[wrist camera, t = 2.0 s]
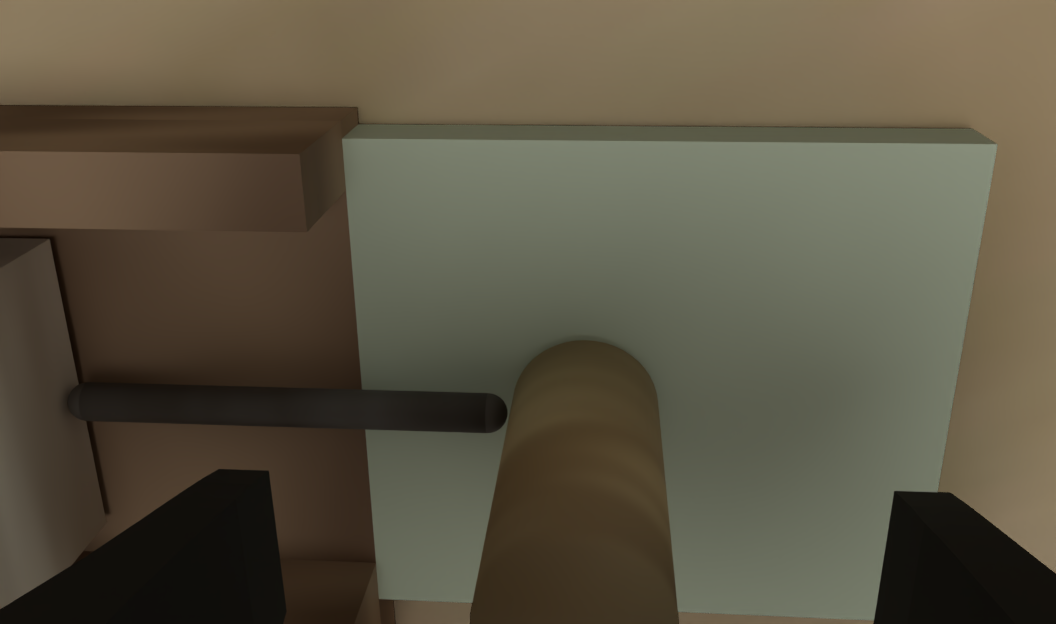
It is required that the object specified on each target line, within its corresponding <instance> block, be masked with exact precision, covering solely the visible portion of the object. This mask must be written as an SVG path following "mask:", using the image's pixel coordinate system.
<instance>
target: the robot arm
mask: <svg viewBox="0 0 1056 624" xmlns="http://www.w3.org/2000/svg"><path fill="white" fill-rule="evenodd" d="M286 612H287V610H286V602H285V594H284V586H283V578H282V570H281V562H280V555H279V547H278V539H277V531H276V523H275V515H274V507H273V499H272V491H271V484H270V476H269V471H266V470H236V469H218V470H216V471H214V472H213V473H211V474H209V475H207V476H206V477H204V478H202V479H201V480H199V481H198V482H196V483H194V484H193V485H191V486H190V487H188V488H187V489H185V490H184V491H182V492H181V493H179V494H178V495H176V496H175V497H173V498H172V499H170V500H169V501H167V502H166V503H164V504H163V505H162V506H160V507H159V508H157V509H156V510H154V511H153V512H151V513H150V514H148V515H147V516H145V517H144V518H142V519H141V520H140V521H138V522H137V523H135V524H134V525H132V526H131V527H129V528H128V529H126V530H125V531H123V532H122V533H120V534H119V535H117V536H116V537H114V538H113V539H111V540H110V541H108V542H107V543H105V544H104V545H102V546H101V547H99V548H98V549H96V550H95V551H93V552H92V553H90V554H89V555H87V556H86V557H84V558H83V559H81V560H80V561H78V562H76V563H75V564H73V565H71V566H70V567H68V568H67V569H65V570H63V571H62V572H60V573H58V574H57V575H55V576H53V577H52V578H50V579H49V580H47V581H45V582H44V583H42V584H40V585H39V586H37V587H36V588H34V589H32V590H31V591H29V592H27V593H26V594H24V595H23V596H21V597H19V598H18V599H16V600H14V601H13V602H11V603H10V604H8V605H6V606H5V607H3V608H1V609H0V624H283V622H284V619H285V616H286ZM874 624H1056V573H1054V572H1053V571H1052V570H1050V569H1049V568H1048V567H1046V566H1045V565H1044V564H1043V563H1041V562H1040V561H1039V560H1037V559H1036V558H1035V557H1034V556H1032V555H1031V554H1030V553H1029V552H1027V551H1026V550H1025V549H1024V548H1022V547H1021V546H1020V545H1018V544H1017V543H1016V542H1015V541H1013V540H1012V539H1011V538H1010V537H1008V536H1007V535H1006V534H1004V533H1003V532H1002V531H1001V530H999V529H998V528H997V527H996V526H994V525H993V524H992V523H990V522H989V521H988V520H987V519H985V518H984V517H983V516H982V515H980V514H979V513H978V512H976V511H975V510H974V509H972V508H971V507H970V506H968V505H967V504H966V503H964V502H963V501H961V500H960V499H959V498H957V497H956V496H954V495H953V494H951V493H945V492H914V491H894V496H893V502H892V508H891V515H890V521H889V528H888V534H887V541H886V547H885V553H884V560H883V566H882V573H881V579H880V586H879V592H878V598H877V605H876V611H875V618H874Z"/></svg>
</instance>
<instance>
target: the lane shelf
mask: <svg viewBox="0 0 1056 624" xmlns="http://www.w3.org/2000/svg"><path fill="white" fill-rule="evenodd" d="M357 125H358V112H357V108H356V107H194V106H32V105H0V238H27V239H50V244H51V249H52V254H53V259H54V264H55V269H56V274H57V279H58V284H59V289H60V294H61V299H62V304H63V309H64V314H65V319H66V324H67V329H68V334H69V339H70V344H71V349H72V354H73V359H74V363H75V368H76V373H77V378H78V383H79V384H82V383H85V382H106V383H142V384H178V385H215V386H251V387H287V388H323V389H360V390H362V383H361V370H360V358H359V345H358V333H357V320H356V308H355V295H354V283H353V271H352V258H351V246H350V233H349V221H348V208H347V196H346V184H345V171H344V159H343V146H342V138H343V137H344V136H345V135H347V134H348V133H349V132H350V131H351V130H352V129H353V128H355V127H356V126H357ZM86 423H87V428H88V433H89V438H90V443H91V448H92V453H93V458H94V463H95V468H96V473H97V478H98V483H99V488H100V493H101V498H102V503H103V508H104V513H105V518H106V524H105V525H104V526H103V527H102V529H101V530H100V531H99V532H98V533H97V535H96V536H95V537H94V538H93V540H92V541H91V542H90V543H89V544H88V546H87V547H86V548H85V549H84V551H83V552H82V553H81V554H80V556H79V557H78V558H77V559H76V560H75V562H74V563H73V564H75V563H76V562H78V561H80V560H81V559H83V558H84V557H86V556H87V555H89V554H90V553H92V552H93V551H95V550H96V549H98V548H99V547H101V546H102V545H104V544H105V543H107V542H108V541H110V540H111V539H113V538H114V537H116V536H117V535H119V534H120V533H122V532H123V531H125V530H126V529H128V528H129V527H131V526H132V525H134V524H135V523H137V522H138V521H140V520H141V519H142V518H144V517H145V516H147V515H148V514H150V513H151V512H153V511H154V510H156V509H157V508H159V507H160V506H162V505H163V504H164V503H166V502H167V501H169V500H170V499H172V498H173V497H175V496H176V495H178V494H179V493H181V492H182V491H184V490H185V489H187V488H188V487H190V486H191V485H193V484H194V483H196V482H198V481H199V480H201V479H202V478H204V477H206V476H207V475H209V474H211V473H213V472H214V471H216V470H218V469H236V470H266V471H269V476H270V484H271V491H272V499H273V507H274V515H275V523H276V531H277V539H278V547H279V555H280V562H281V570H282V578H283V586H284V594H285V602H286V610H287V612H286V616H285V619H284V622H283V624H395V614H394V601H393V600H391V599H379V594H378V582H377V569H376V557H375V544H374V532H373V519H372V507H371V495H370V482H369V470H368V457H367V445H366V432H365V430H364V429H331V428H299V427H266V426H233V425H201V424H168V423H135V422H103V421H86ZM73 564H72V565H73Z"/></svg>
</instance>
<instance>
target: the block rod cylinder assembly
mask: <svg viewBox="0 0 1056 624" xmlns="http://www.w3.org/2000/svg"><path fill="white" fill-rule="evenodd" d="M507 415H508V410H507V406H506V404H505V402H504V401H503V400H502V399H501V398H500V397H499V396H497V395H495V394H491V393H468V392H432V391H396V390H360V389H323V388H287V387H251V386H215V385H178V384H142V383H106V382H85V383H82V384H79V383H78V378H77V373H76V368H75V363H74V359H73V354H72V349H71V344H70V339H69V334H68V329H67V324H66V319H65V314H64V309H63V304H62V299H61V294H60V289H59V284H58V279H57V274H56V269H55V264H54V259H53V254H52V249H51V244H50V239H27V238H0V609H1V608H3V607H5V606H6V605H8V604H10V603H11V602H13V601H14V600H16V599H18V598H19V597H21V596H23V595H24V594H26V593H27V592H29V591H31V590H32V589H34V588H36V587H37V586H39V585H40V584H42V583H44V582H45V581H47V580H49V579H50V578H52V577H53V576H55V575H57V574H58V573H60V572H62V571H63V570H65V569H67V568H68V567H70V566H71V565H72V564H73V563H74V562H75V560H76V559H77V558H78V557H79V556H80V554H81V553H82V552H83V551H84V549H85V548H86V547H87V546H88V544H89V543H90V542H91V541H92V540H93V538H94V537H95V536H96V535H97V533H98V532H99V531H100V530H101V529H102V527H103V526H104V525H105V524H106V518H105V513H104V508H103V503H102V498H101V493H100V488H99V483H98V478H97V473H96V468H95V463H94V458H93V453H92V448H91V443H90V438H89V433H88V428H87V423H86V421H103V422H135V423H168V424H201V425H233V426H266V427H299V428H331V429H364V430H397V431H430V432H462V433H492V432H496V431H498V430H499V429H500V428H502V426H503V425H504V424H505V422H506V420H507ZM470 624H679V618H678V607H677V597H676V586H675V576H674V565H673V555H672V544H671V534H670V523H669V512H668V502H667V491H666V481H665V470H664V460H663V449H662V439H661V428H660V417H659V407H658V398H657V392H656V389H655V386H654V383H653V381H652V379H651V377H650V375H649V374H648V372H647V371H646V369H645V368H644V367H643V366H642V365H641V364H640V363H639V361H637V360H636V359H635V358H634V357H633V356H631V355H630V354H628V353H627V352H625V351H624V350H622V349H620V348H618V347H616V346H613V345H610V344H607V343H603V342H598V341H590V340H576V341H570V342H565V343H561V344H558V345H555V346H553V347H551V348H549V349H547V350H545V351H543V352H542V353H540V354H539V355H538V356H536V357H535V358H534V359H533V360H532V361H531V362H530V363H529V364H528V365H527V366H526V367H525V369H524V370H523V371H522V373H521V375H520V377H519V379H518V381H517V383H516V386H515V390H514V395H513V400H512V405H511V410H510V415H509V420H508V425H507V430H506V435H505V440H504V445H503V450H502V455H501V460H500V465H499V470H498V476H497V481H496V486H495V491H494V496H493V501H492V506H491V511H490V516H489V521H488V526H487V531H486V536H485V541H484V546H483V551H482V556H481V561H480V567H479V572H478V577H477V582H476V587H475V592H474V597H473V602H472V607H471V612H470Z"/></svg>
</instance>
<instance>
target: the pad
mask: <svg viewBox="0 0 1056 624" xmlns="http://www.w3.org/2000/svg"><path fill="white" fill-rule="evenodd" d="M997 145H998V144H996V143H995V142H993V141H992V140H990V139H988V138H987V137H985V136H984V135H982V134H980V133H979V132H977V131H976V130H974V129H947V128H813V127H678V126H544V125H409V124H358V125H357V126H356V127H355V128H353V129H352V130H351V131H350V132H349V133H348V134H347V135H345V136H344V137H343V138H342V146H343V159H344V171H345V184H346V196H347V208H348V221H349V233H350V246H351V258H352V271H353V283H354V295H355V308H356V320H357V333H358V345H359V358H360V370H361V383H362V390H396V391H432V392H468V393H491V394H495V395H497V396H499V397H500V398H501V399H502V400H503V401H504V402H505V404H506V406H507V410H508V415H507V420H506V422H505V424H504V425H503V426H502V428H500V429H499V430H498V431H496V432H492V433H462V432H430V431H397V430H365V432H366V445H367V457H368V470H369V482H370V495H371V507H372V519H373V532H374V544H375V557H376V569H377V582H378V594H379V599H391V600H414V601H437V602H460V603H472V602H473V597H474V592H475V587H476V582H477V577H478V572H479V567H480V561H481V556H482V551H483V546H484V541H485V536H486V531H487V526H488V521H489V516H490V511H491V506H492V501H493V496H494V491H495V486H496V481H497V476H498V470H499V465H500V460H501V455H502V450H503V445H504V440H505V435H506V430H507V425H508V420H509V415H510V410H511V405H512V400H513V395H514V390H515V386H516V383H517V381H518V379H519V377H520V375H521V373H522V371H523V370H524V369H525V367H526V366H527V365H528V364H529V363H530V362H531V361H532V360H533V359H534V358H535V357H536V356H538V355H539V354H540V353H542V352H543V351H545V350H547V349H549V348H551V347H553V346H555V345H558V344H561V343H565V342H570V341H576V340H590V341H598V342H603V343H607V344H610V345H613V346H616V347H618V348H620V349H622V350H624V351H625V352H627V353H628V354H630V355H631V356H633V357H634V358H635V359H636V360H637V361H639V363H640V364H641V365H642V366H643V367H644V368H645V369H646V371H647V372H648V374H649V375H650V377H651V379H652V381H653V383H654V386H655V389H656V392H657V398H658V407H659V417H660V428H661V439H662V449H663V460H664V470H665V481H666V491H667V502H668V512H669V523H670V534H671V544H672V555H673V565H674V576H675V586H676V597H677V607H678V612H691V613H714V614H737V615H760V616H783V617H806V618H829V619H852V620H874V618H875V611H876V605H877V598H878V592H879V586H880V579H881V573H882V566H883V560H884V553H885V547H886V541H887V534H888V528H889V521H890V515H891V508H892V502H893V496H894V491H914V492H938V486H939V480H940V474H941V469H942V463H943V457H944V451H945V445H946V440H947V434H948V428H949V422H950V417H951V411H952V405H953V399H954V393H955V388H956V382H957V376H958V370H959V365H960V359H961V353H962V347H963V341H964V336H965V330H966V324H967V318H968V313H969V307H970V301H971V295H972V289H973V284H974V278H975V272H976V266H977V261H978V255H979V249H980V243H981V237H982V232H983V226H984V220H985V214H986V209H987V203H988V197H989V191H990V185H991V180H992V174H993V168H994V162H995V157H996V151H997Z"/></svg>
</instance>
